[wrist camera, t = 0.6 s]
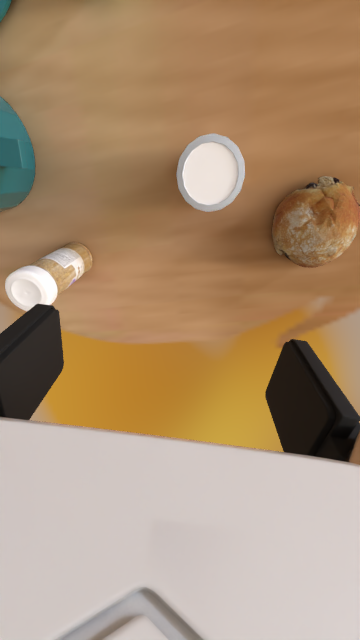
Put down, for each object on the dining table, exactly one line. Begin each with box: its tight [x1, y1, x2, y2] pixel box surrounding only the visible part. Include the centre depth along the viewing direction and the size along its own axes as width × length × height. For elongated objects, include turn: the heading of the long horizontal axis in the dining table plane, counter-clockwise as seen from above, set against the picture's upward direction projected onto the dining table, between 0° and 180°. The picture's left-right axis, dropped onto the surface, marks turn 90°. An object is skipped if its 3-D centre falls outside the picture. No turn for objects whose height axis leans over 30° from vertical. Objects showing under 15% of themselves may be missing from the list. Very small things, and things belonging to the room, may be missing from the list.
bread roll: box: [272, 176, 360, 268], centre depth 33 cm, size 10×10×8 cm
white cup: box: [176, 133, 245, 212], centre depth 29 cm, size 7×7×7 cm
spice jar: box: [5, 242, 92, 311], centre depth 32 cm, size 5×4×13 cm
